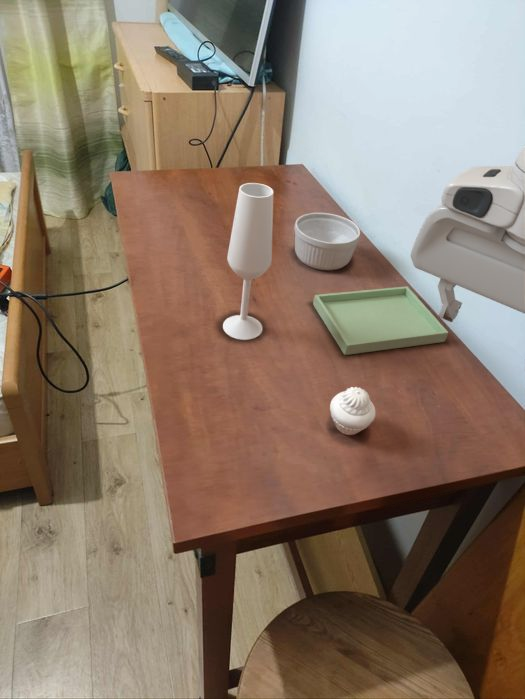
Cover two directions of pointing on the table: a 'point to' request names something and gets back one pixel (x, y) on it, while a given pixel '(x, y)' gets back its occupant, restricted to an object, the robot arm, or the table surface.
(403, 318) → the tray
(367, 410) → the muffin
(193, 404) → the table surface
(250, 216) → the champagne flute
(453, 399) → the table surface
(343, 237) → the ramekin
